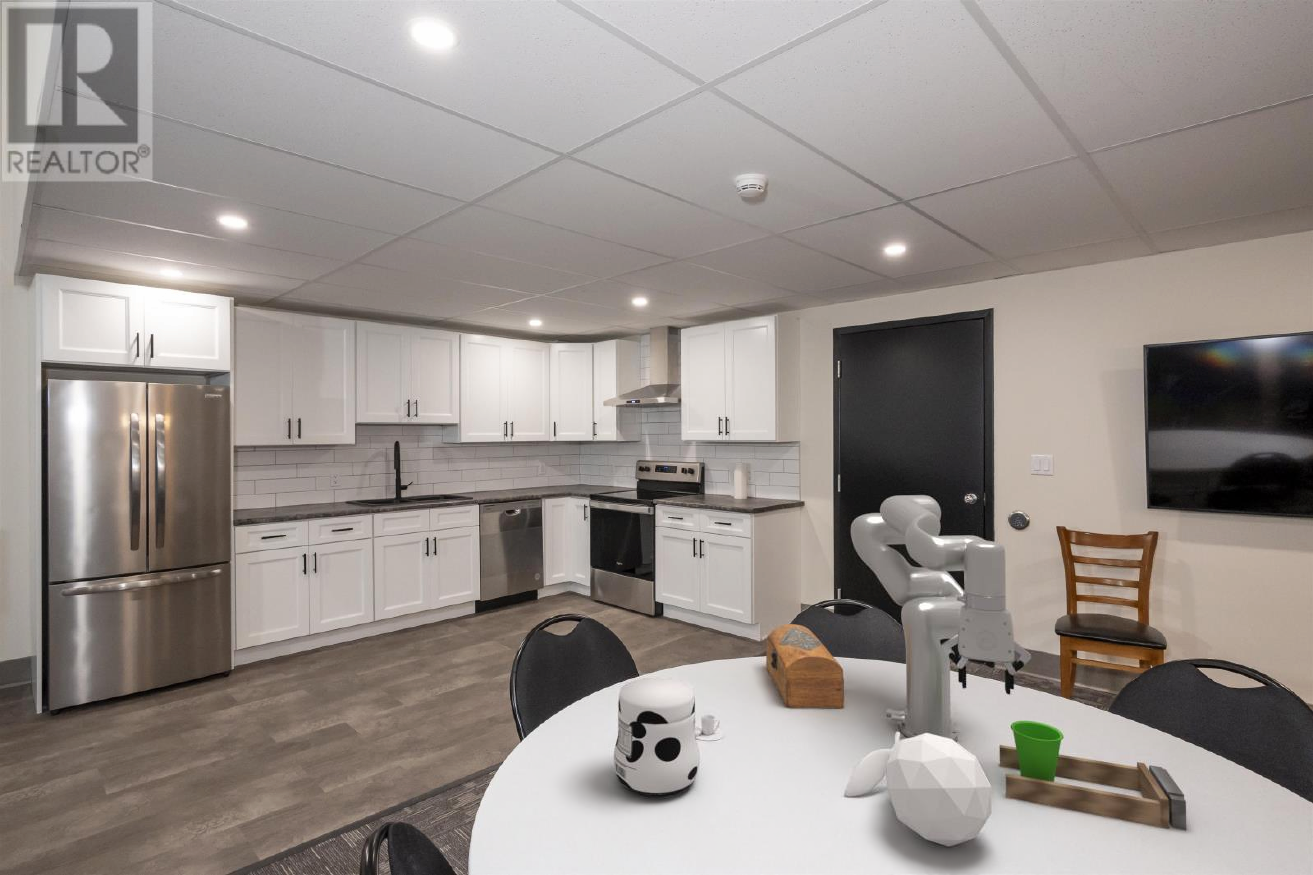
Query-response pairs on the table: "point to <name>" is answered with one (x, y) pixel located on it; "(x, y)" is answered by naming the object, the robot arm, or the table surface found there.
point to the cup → (1037, 749)
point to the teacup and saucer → (708, 728)
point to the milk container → (656, 736)
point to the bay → (1154, 785)
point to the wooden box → (803, 669)
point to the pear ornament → (929, 786)
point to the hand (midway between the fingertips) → (985, 688)
